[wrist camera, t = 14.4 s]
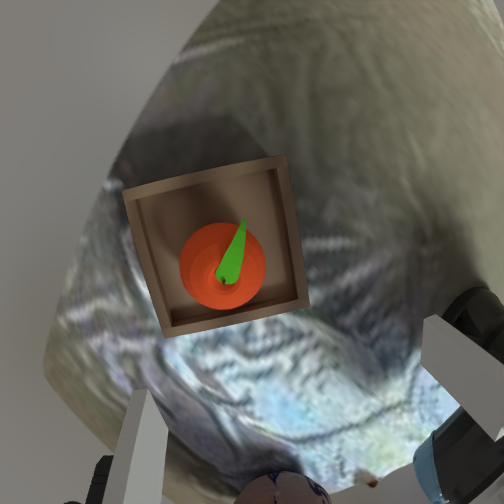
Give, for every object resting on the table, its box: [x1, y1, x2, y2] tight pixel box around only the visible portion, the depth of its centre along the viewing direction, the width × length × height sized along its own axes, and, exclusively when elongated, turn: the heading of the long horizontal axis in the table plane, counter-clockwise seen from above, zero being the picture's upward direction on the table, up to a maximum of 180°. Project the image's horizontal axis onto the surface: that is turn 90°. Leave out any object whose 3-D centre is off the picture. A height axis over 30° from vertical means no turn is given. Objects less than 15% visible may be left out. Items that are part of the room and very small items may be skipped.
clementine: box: [179, 215, 266, 310], centre depth 25 cm, size 8×7×7 cm
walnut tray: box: [122, 155, 310, 338], centre depth 31 cm, size 14×14×8 cm
